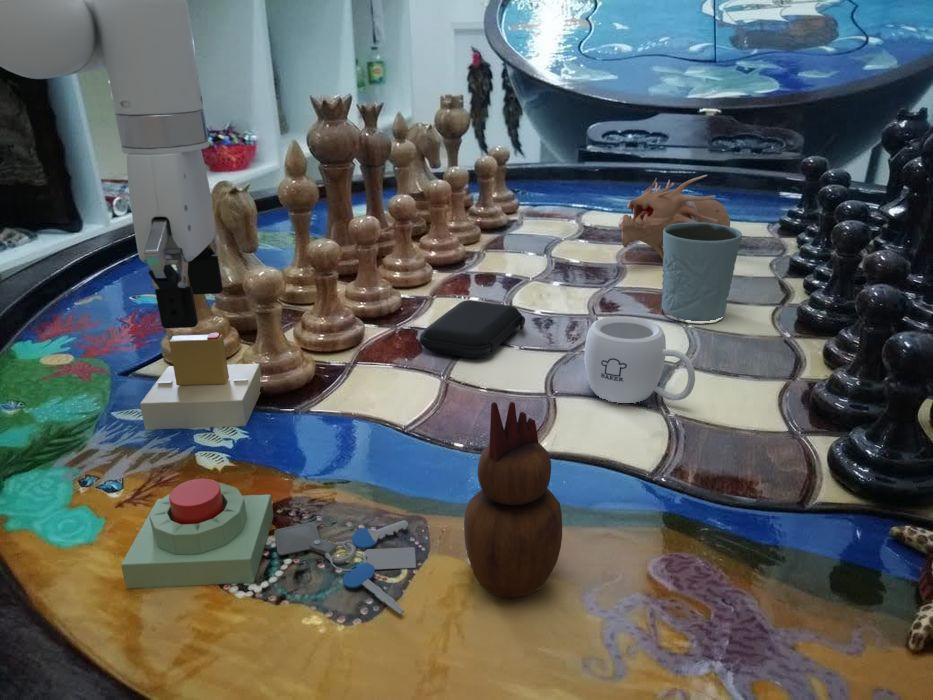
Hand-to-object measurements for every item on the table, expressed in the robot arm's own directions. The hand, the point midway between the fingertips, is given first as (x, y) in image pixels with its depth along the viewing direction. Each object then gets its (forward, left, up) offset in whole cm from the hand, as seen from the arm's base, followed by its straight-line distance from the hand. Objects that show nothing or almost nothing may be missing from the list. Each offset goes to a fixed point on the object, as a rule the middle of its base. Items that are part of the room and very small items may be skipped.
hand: (194, 308), depth 73 cm
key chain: (+18, -25, -11) cm, 33 cm away
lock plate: (0, 0, -11) cm, 11 cm away
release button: (+6, -24, -7) cm, 26 cm away
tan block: (0, 0, -8) cm, 8 cm away
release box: (+6, -24, -11) cm, 27 cm away
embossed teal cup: (+61, +24, -11) cm, 66 cm away
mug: (+46, -1, -11) cm, 47 cm away
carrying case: (+30, +17, -11) cm, 36 cm away
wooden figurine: (+29, -29, -11) cm, 42 cm away
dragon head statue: (+67, +50, -11) cm, 84 cm away
